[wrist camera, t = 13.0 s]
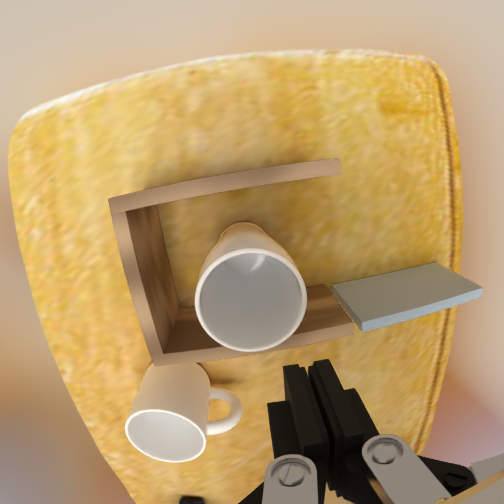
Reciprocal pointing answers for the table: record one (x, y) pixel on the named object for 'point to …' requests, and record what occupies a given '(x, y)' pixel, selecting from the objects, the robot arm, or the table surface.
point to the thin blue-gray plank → (403, 295)
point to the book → (190, 501)
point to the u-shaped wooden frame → (161, 282)
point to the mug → (177, 412)
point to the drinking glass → (249, 291)
